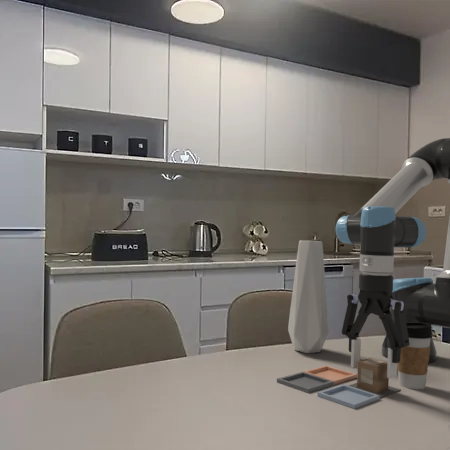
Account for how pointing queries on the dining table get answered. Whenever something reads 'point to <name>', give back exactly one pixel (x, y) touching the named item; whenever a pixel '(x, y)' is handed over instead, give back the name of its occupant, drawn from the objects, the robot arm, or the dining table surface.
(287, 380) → the tray charcoal
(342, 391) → the tray slate
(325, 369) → the tray terracotta
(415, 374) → the coffee cup
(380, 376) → the letter block
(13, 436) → the dining table surface
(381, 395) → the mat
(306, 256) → the vase
